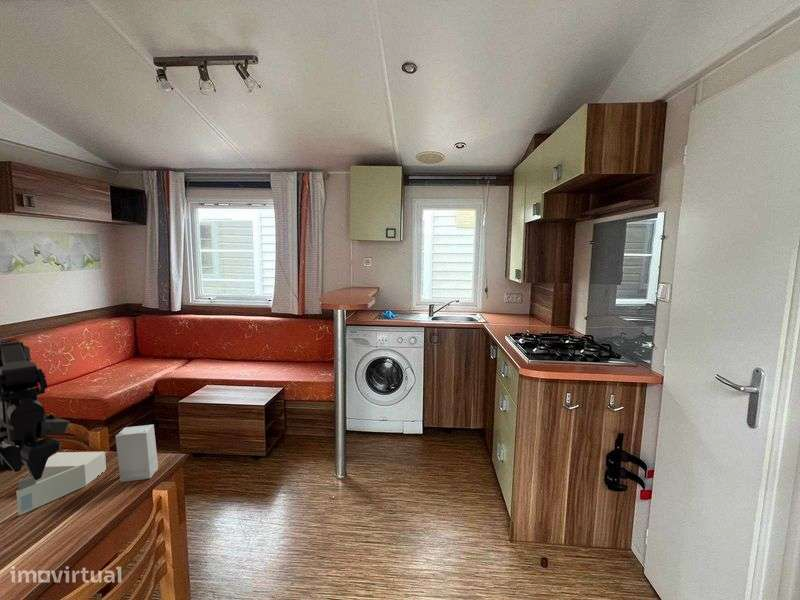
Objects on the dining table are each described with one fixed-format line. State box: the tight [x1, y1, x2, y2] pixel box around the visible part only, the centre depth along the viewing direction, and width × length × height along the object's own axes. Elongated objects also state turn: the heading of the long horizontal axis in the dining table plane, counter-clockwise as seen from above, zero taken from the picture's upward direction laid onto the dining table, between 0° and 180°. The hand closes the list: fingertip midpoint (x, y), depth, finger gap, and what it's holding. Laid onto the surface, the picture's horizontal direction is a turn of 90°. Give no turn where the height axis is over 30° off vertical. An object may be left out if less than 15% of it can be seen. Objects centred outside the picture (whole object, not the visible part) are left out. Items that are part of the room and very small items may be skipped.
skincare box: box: [115, 424, 159, 483], centre depth 109 cm, size 8×6×15 cm
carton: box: [36, 451, 107, 486], centre depth 108 cm, size 14×8×6 cm, turn 94°
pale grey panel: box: [15, 464, 87, 516], centre depth 97 cm, size 14×1×9 cm, turn 155°
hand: (27, 475), depth 92 cm, fingers open, 9 cm apart
